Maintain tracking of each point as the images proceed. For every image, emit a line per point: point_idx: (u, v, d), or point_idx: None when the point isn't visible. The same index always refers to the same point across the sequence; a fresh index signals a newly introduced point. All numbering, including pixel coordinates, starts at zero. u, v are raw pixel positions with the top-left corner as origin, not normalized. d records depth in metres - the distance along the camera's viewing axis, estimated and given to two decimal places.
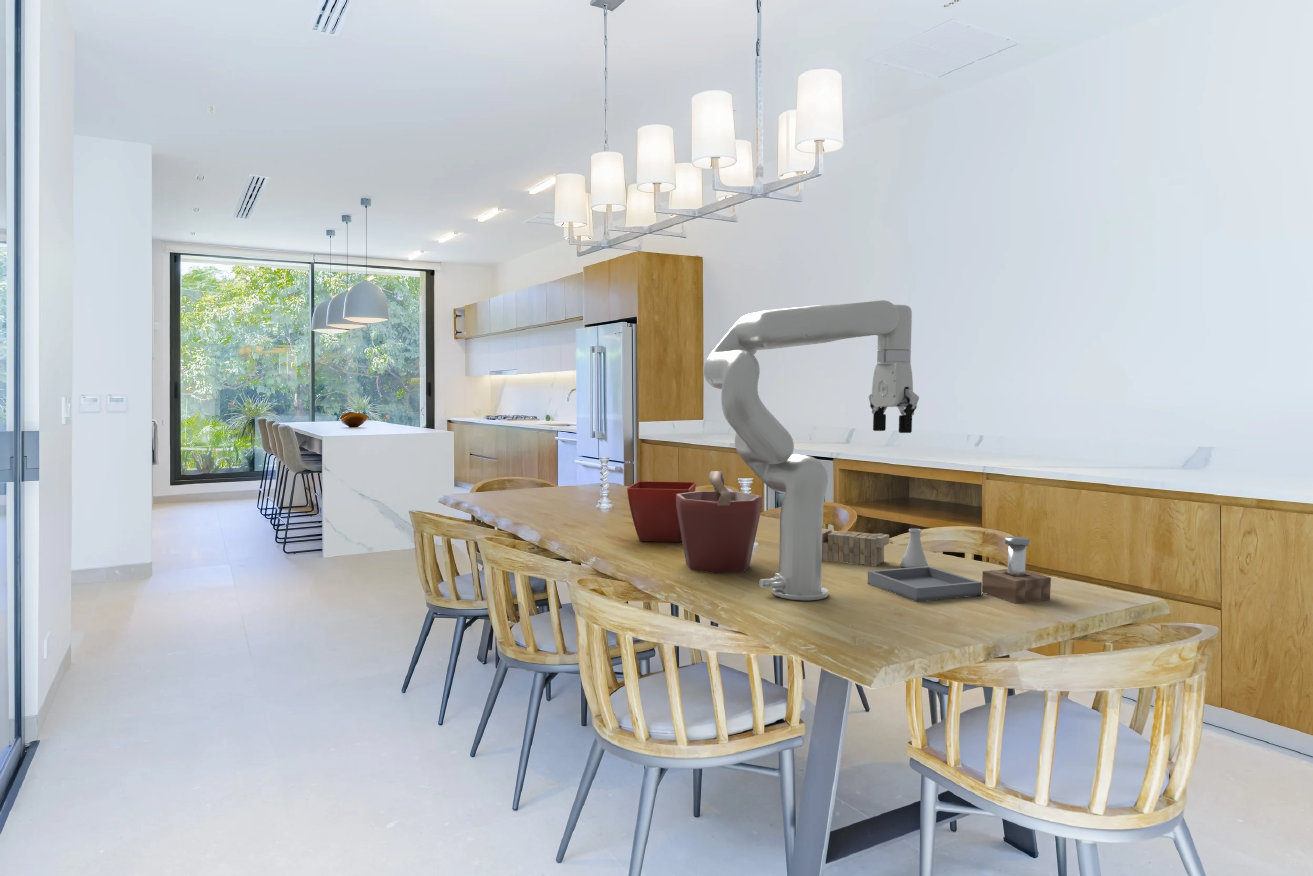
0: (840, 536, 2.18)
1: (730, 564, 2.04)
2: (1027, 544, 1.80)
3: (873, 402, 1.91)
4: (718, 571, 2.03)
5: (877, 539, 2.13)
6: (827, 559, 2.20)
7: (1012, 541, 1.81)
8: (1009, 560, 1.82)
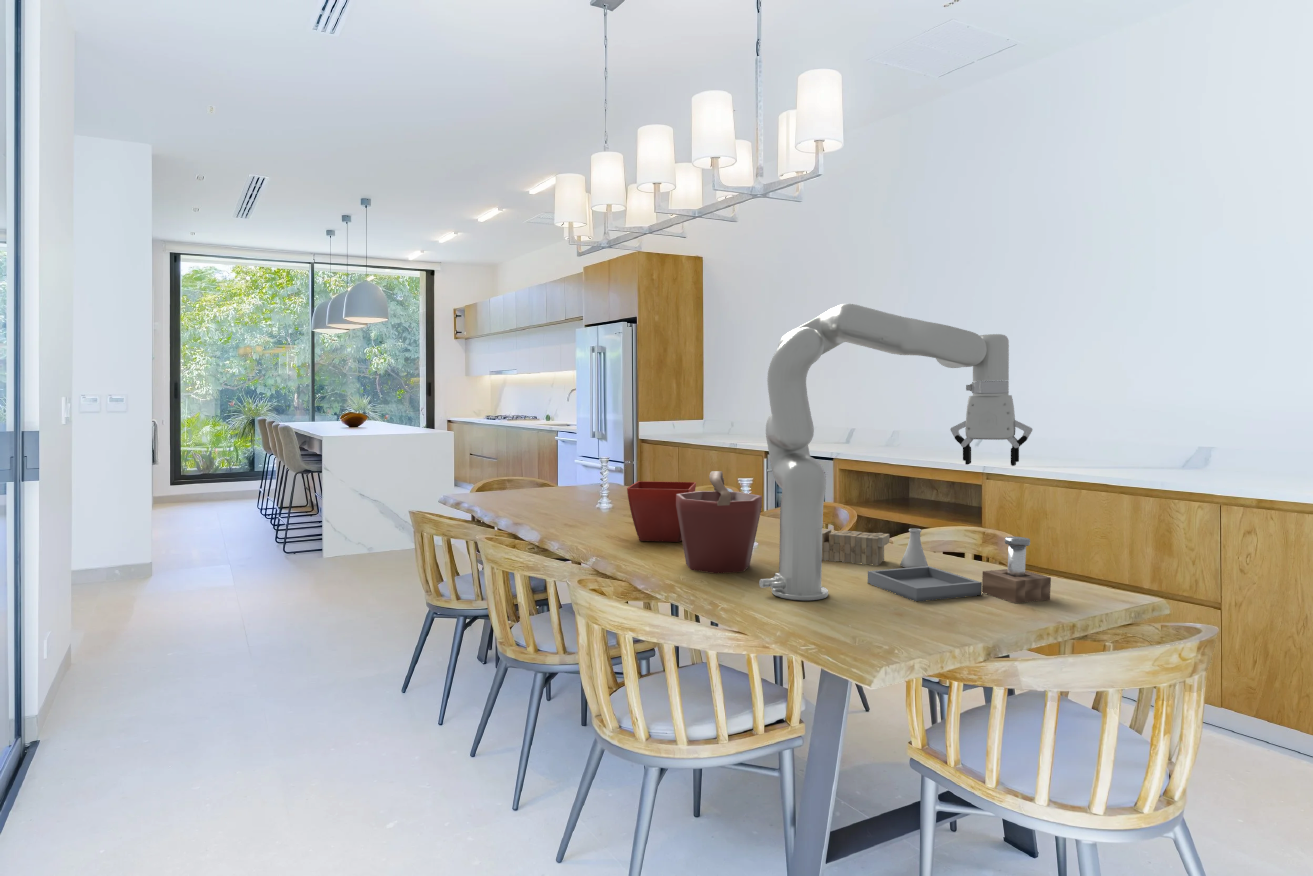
0: (841, 536, 2.18)
1: (730, 564, 2.04)
2: (1027, 544, 1.80)
3: (971, 435, 1.83)
4: (718, 571, 2.03)
5: (879, 538, 2.13)
6: (828, 559, 2.20)
7: (1012, 541, 1.81)
8: (1009, 560, 1.82)
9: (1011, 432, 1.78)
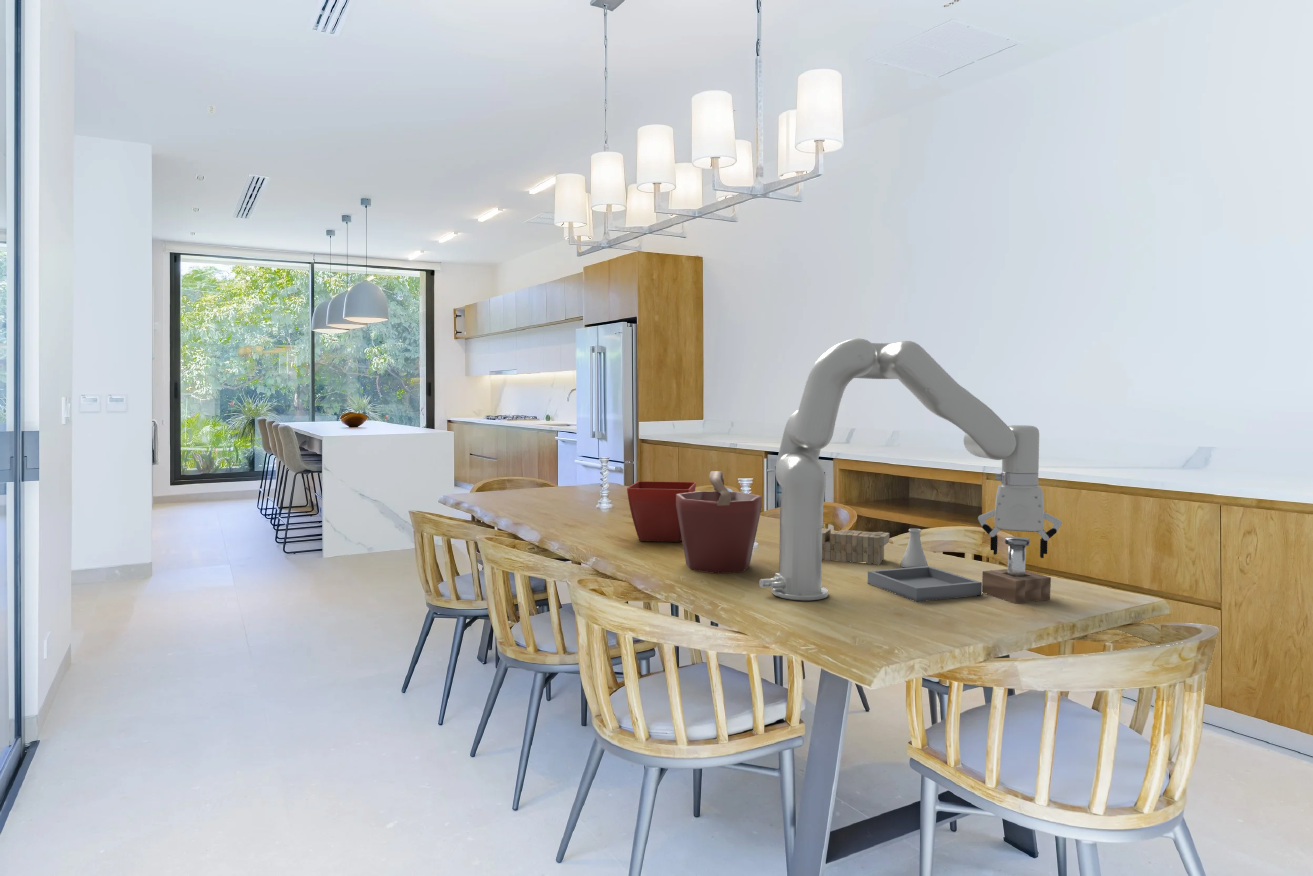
0: (843, 535, 2.19)
1: (730, 564, 2.04)
2: (1027, 544, 1.80)
3: (1001, 526, 1.81)
4: (718, 571, 2.03)
5: (880, 537, 2.15)
6: (829, 558, 2.21)
7: (1012, 541, 1.81)
8: (1009, 560, 1.82)
9: (1042, 525, 1.78)
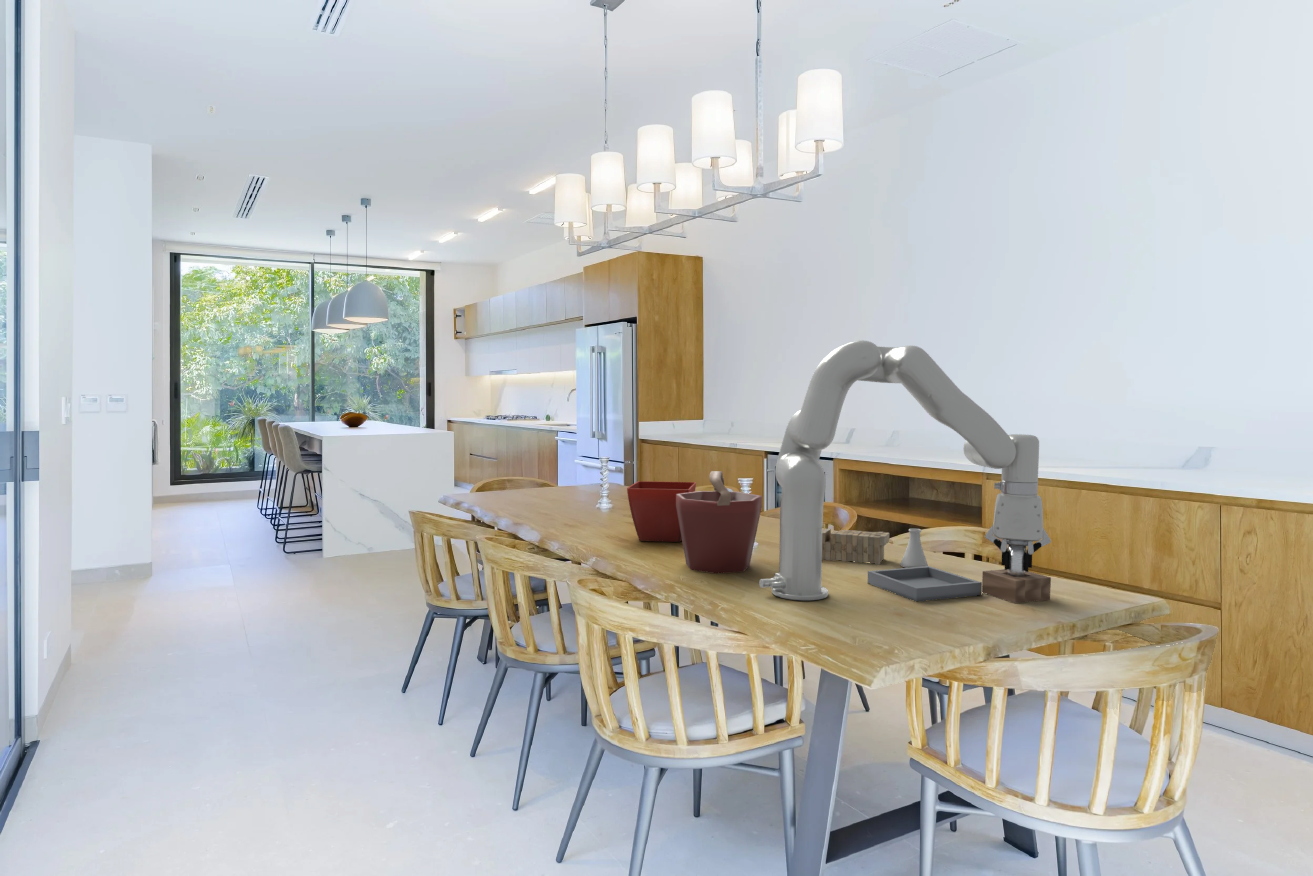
0: (843, 535, 2.19)
1: (730, 564, 2.04)
2: (1027, 544, 1.80)
3: (999, 535, 1.81)
4: (718, 571, 2.03)
5: (881, 537, 2.15)
6: (830, 558, 2.21)
7: (1012, 541, 1.81)
8: (1009, 560, 1.82)
9: (1041, 534, 1.78)
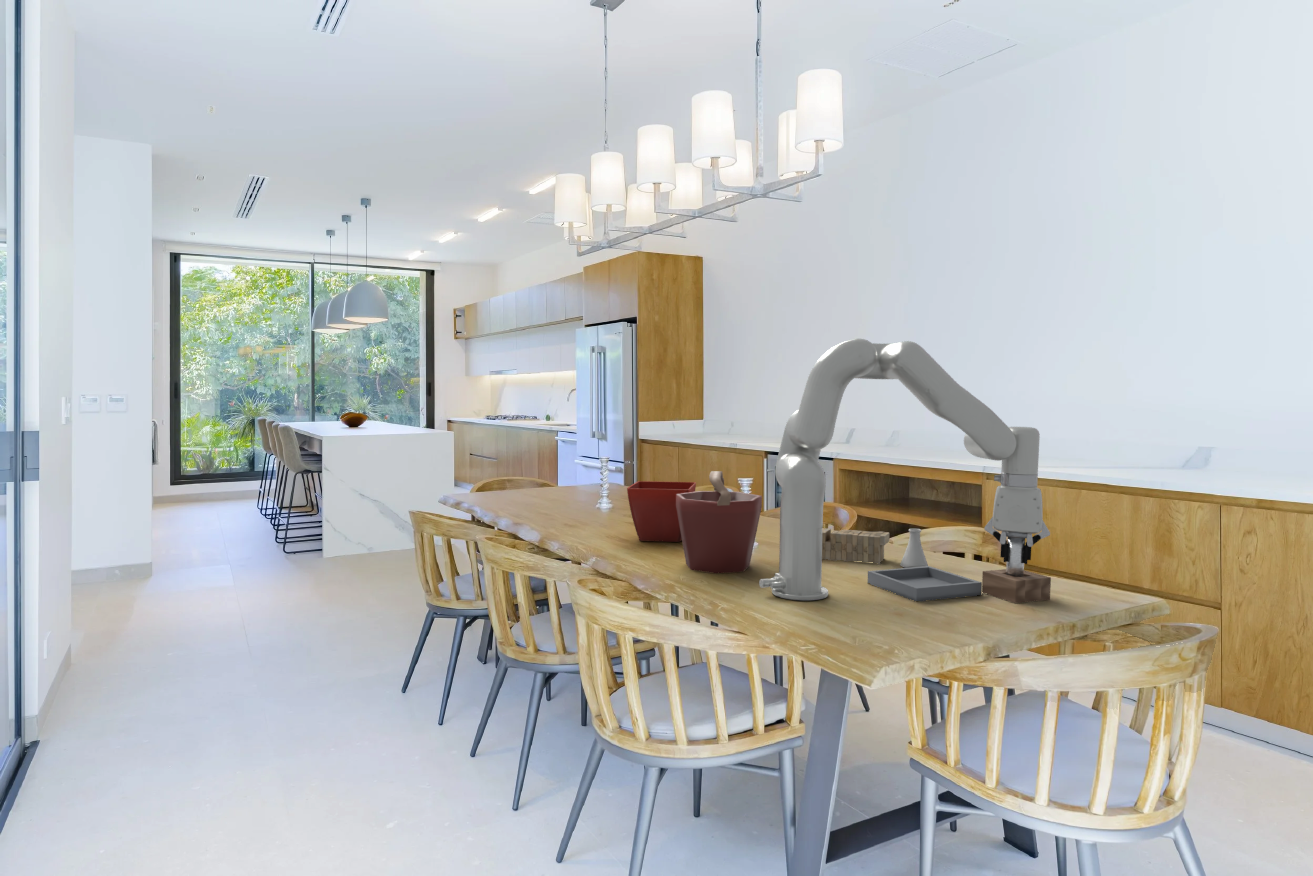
0: (843, 535, 2.20)
1: (730, 564, 2.04)
2: (1026, 536, 1.80)
3: (999, 527, 1.81)
4: (718, 571, 2.03)
5: (881, 537, 2.15)
6: (830, 558, 2.21)
7: (1011, 533, 1.80)
8: (1008, 552, 1.82)
9: (1040, 527, 1.78)
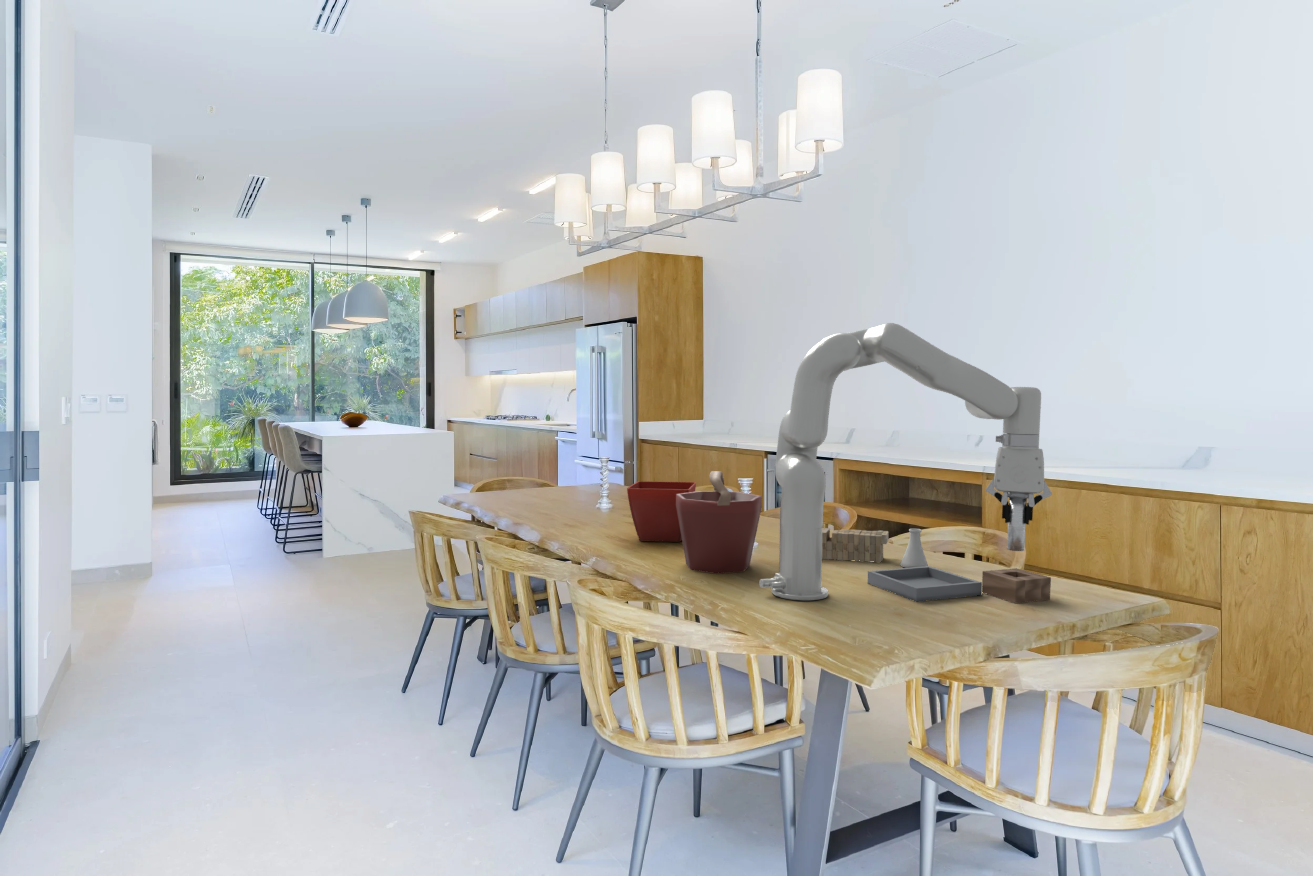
0: (844, 534, 2.20)
1: (730, 564, 2.04)
2: (1028, 497, 1.80)
3: (1000, 487, 1.81)
4: (718, 571, 2.03)
5: (882, 536, 2.17)
6: (831, 558, 2.22)
7: (1013, 494, 1.80)
8: (1010, 513, 1.82)
9: (1042, 486, 1.77)
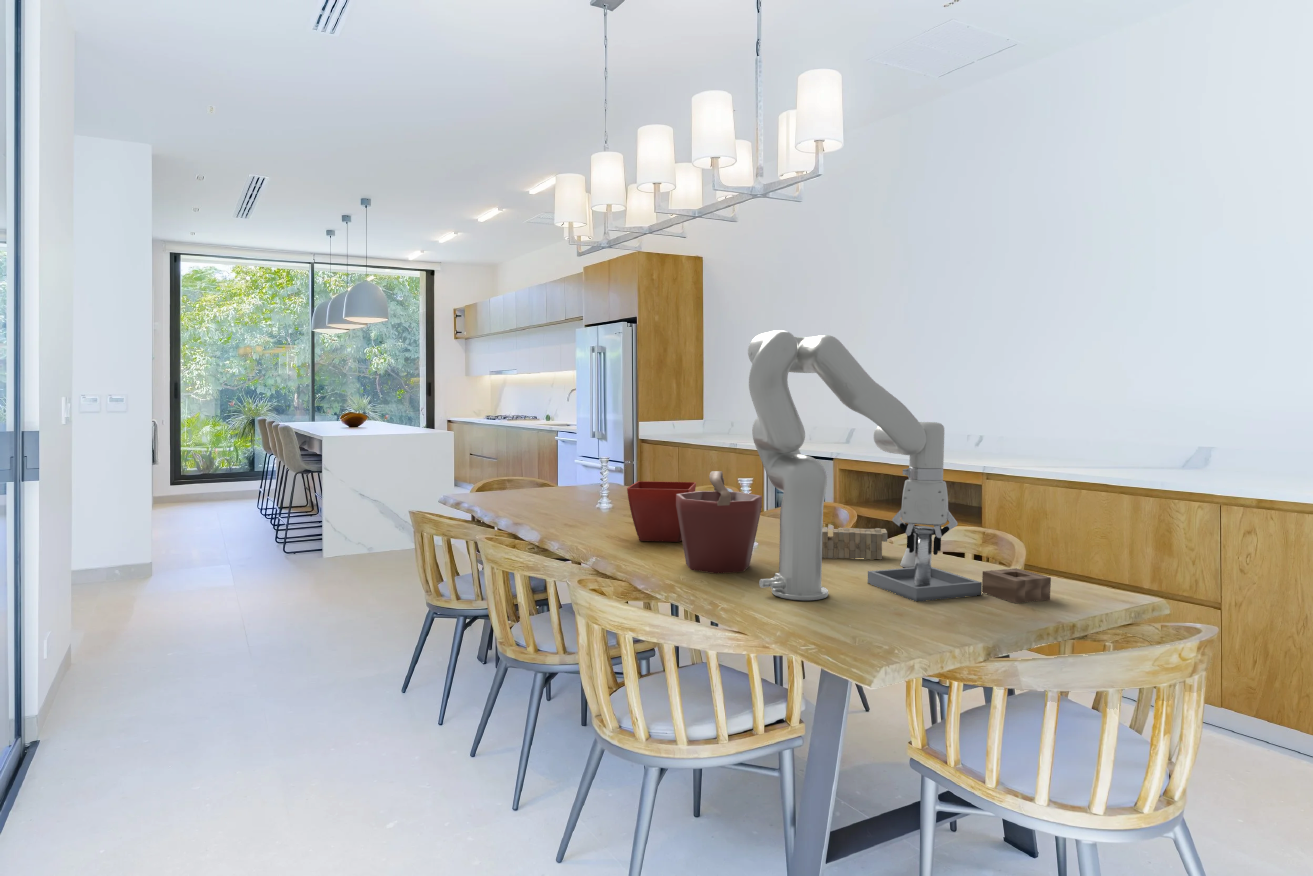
0: (846, 533, 2.23)
1: (730, 564, 2.04)
2: (932, 533, 1.86)
3: (906, 519, 1.87)
4: (718, 571, 2.03)
5: (883, 534, 2.21)
6: (832, 556, 2.23)
7: (918, 530, 1.86)
8: (916, 549, 1.88)
9: (945, 519, 1.83)
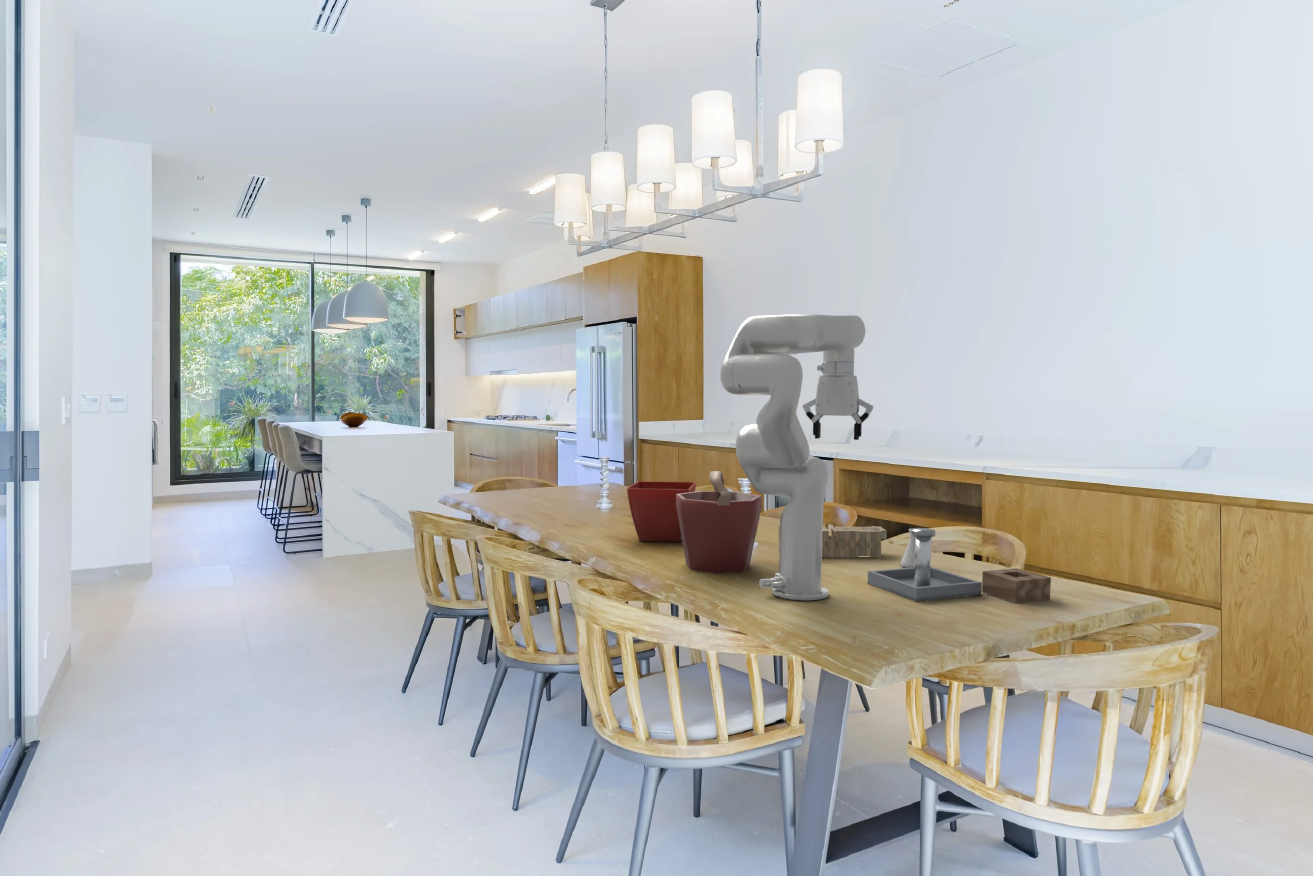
0: (846, 532, 2.25)
1: (730, 564, 2.04)
2: (932, 535, 1.86)
3: (820, 411, 1.99)
4: (718, 571, 2.03)
5: (882, 531, 2.24)
6: (833, 555, 2.25)
7: (917, 532, 1.86)
8: (916, 551, 1.88)
9: (854, 409, 1.96)
